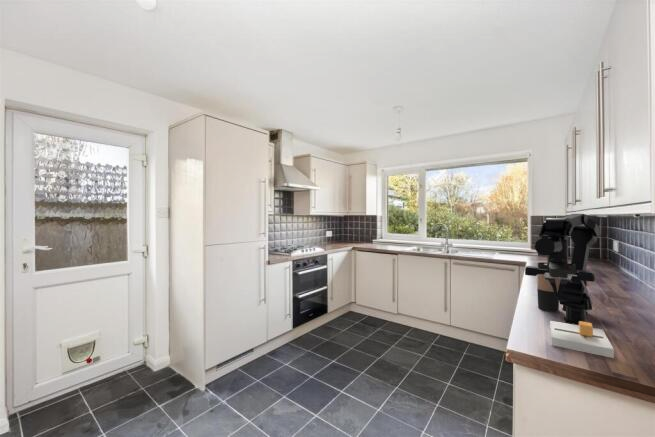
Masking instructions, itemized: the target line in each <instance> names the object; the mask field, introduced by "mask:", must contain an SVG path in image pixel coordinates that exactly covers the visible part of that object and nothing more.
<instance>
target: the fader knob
mask: <svg viewBox="0 0 655 437" xmlns="http://www.w3.org/2000/svg"><path fill="white" fill-rule="evenodd" d="M593 328H594V327H593V324H592V322H588V321H586V322H582V321H579V333H580V335H585V336H590V337H593Z"/></svg>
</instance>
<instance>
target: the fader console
mask: <svg viewBox="0 0 655 437" xmlns="http://www.w3.org/2000/svg"><path fill="white" fill-rule="evenodd" d="M549 331H550V340H551V346H554V347H559V348H563V349H568V350H573V351H579V352H583V353H587V354H592V355H597V356H600V357H601V356H602V357H606V358H612V359H615V349H614V347H613V346H612V343H611V342H610V340H609V339H608V336H607V334H606V333H605V331H604V329H603V328H602V329H601V328H596V327H593V337H590V336H585V335H580V333H579V325H576V324H570V323H565V322H560V321H554V320H550V321H549Z"/></svg>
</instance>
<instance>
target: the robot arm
mask: <svg viewBox="0 0 655 437" xmlns="http://www.w3.org/2000/svg"><path fill="white" fill-rule="evenodd" d="M600 234H601V233H600V228H599V225H598V223H597V222H596V221H594V220H593V219H591V218H589V217H588V215H587V214H584V213H571V214H569V215H566V216H563V217H547V218H546V219H545V220H544V221H543V223H542V226H541V228H540V232H539V234H538V236H539V238H540V239H538V240H537V241H536V242H535V244H534V249H535V251H536V253H538V254H539V255H542V256H546V257H547V258H546V261H547V262H546V263H547V270H545V269H538V266H534V265H527V266H525V267H524V275H525V276H530V277H537V276H538V274H544V278H545V279H546V280H549V282H550V284H551V286H552V288H553V290H554V293H555V296H556V298H559V305H562V306H563V305H566V311H565V316H564V317H563V319H564V323H567V324H573V325H579V321H582V322H587V320H586V314H585V310H587V311H589V310H590V311H592V310H593V301H592V298H591V296H590V294H589V289H588V287H587V288H586V286H585V284H584V281H587V282H591V283H592V282H593V283H594V282H595V278H596V277H595V274H594V273H593V272H592V271H591V270H587V266H588V260H589V254H590V248H592V246H594V244H596V243H597V240H598V238H599V236H600ZM569 237H570V239H571V241H572V242H573V250H572V255H571V261H570V263H569V240H570V239H569ZM555 277H559V285H558V292H557V288H556V282H555ZM584 304H585V305H584Z"/></svg>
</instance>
